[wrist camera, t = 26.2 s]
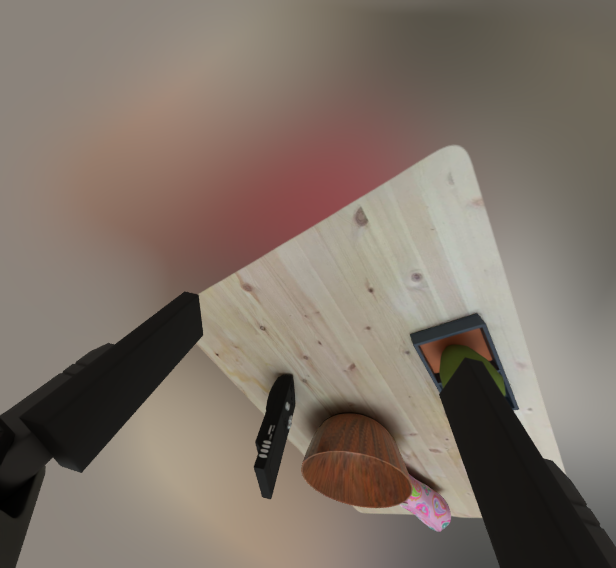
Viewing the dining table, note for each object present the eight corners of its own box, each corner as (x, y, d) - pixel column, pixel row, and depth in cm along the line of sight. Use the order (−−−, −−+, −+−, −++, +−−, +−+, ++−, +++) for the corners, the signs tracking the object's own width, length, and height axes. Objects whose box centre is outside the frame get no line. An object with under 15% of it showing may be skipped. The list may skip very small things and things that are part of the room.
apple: (488, 353, 42) (529, 413, 32) (444, 371, 46) (469, 429, 36) (463, 323, 40) (499, 377, 30) (419, 344, 44) (438, 398, 34)
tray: (409, 334, 44) (413, 344, 42) (477, 313, 40) (485, 323, 37) (449, 406, 51) (454, 419, 49) (510, 396, 47) (519, 409, 44)
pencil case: (371, 462, 68) (373, 501, 60) (396, 454, 63) (402, 495, 56) (419, 495, 72) (427, 536, 64) (446, 490, 67) (458, 533, 59)
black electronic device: (297, 404, 61) (273, 500, 44) (281, 402, 62) (251, 495, 45) (294, 373, 56) (266, 469, 38) (276, 371, 56) (241, 464, 39)
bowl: (365, 465, 69) (366, 516, 59) (294, 428, 67) (283, 475, 57) (425, 433, 57) (439, 490, 47) (341, 386, 55) (338, 436, 45)
